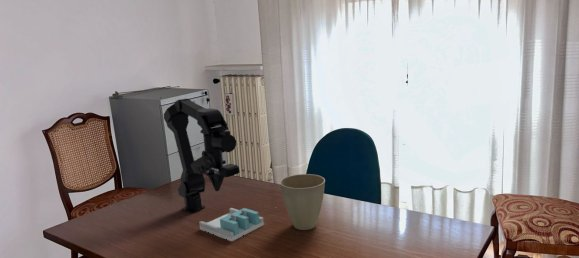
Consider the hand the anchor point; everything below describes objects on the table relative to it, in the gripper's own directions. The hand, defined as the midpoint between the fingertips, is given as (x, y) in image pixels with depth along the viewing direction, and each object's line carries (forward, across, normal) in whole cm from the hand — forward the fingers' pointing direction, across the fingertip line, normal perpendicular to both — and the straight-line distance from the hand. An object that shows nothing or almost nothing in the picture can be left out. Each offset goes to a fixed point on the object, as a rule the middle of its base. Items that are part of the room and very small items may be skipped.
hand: (217, 190), depth 157 cm
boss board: (+12, +6, 0) cm, 13 cm away
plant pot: (+12, +26, +15) cm, 32 cm away
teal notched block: (+11, +10, 0) cm, 15 cm away
